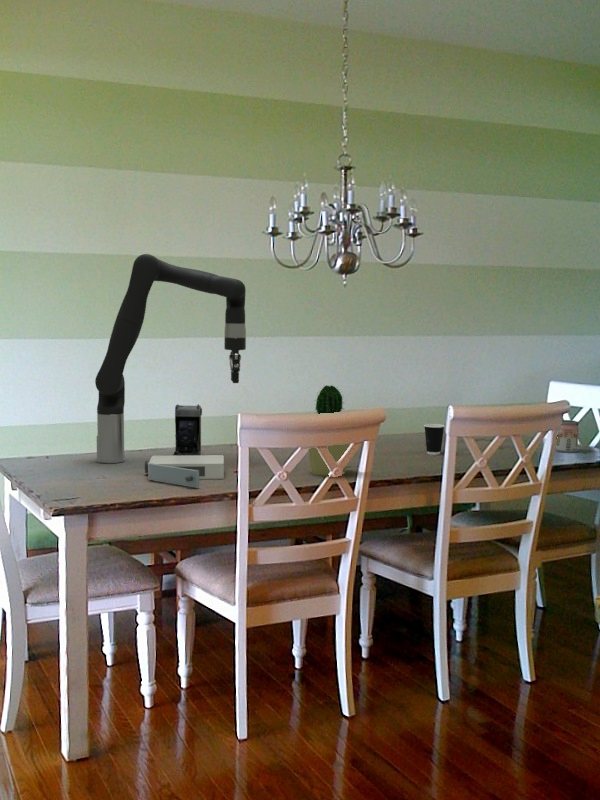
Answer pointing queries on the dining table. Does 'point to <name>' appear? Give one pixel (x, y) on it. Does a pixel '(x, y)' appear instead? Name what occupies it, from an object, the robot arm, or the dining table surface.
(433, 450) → the dixie cup
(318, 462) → the potted cactus
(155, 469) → the side door
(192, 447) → the vintage camera
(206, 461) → the white flat box
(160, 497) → the dining table surface
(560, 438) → the house shaped jar
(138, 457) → the dining table surface
